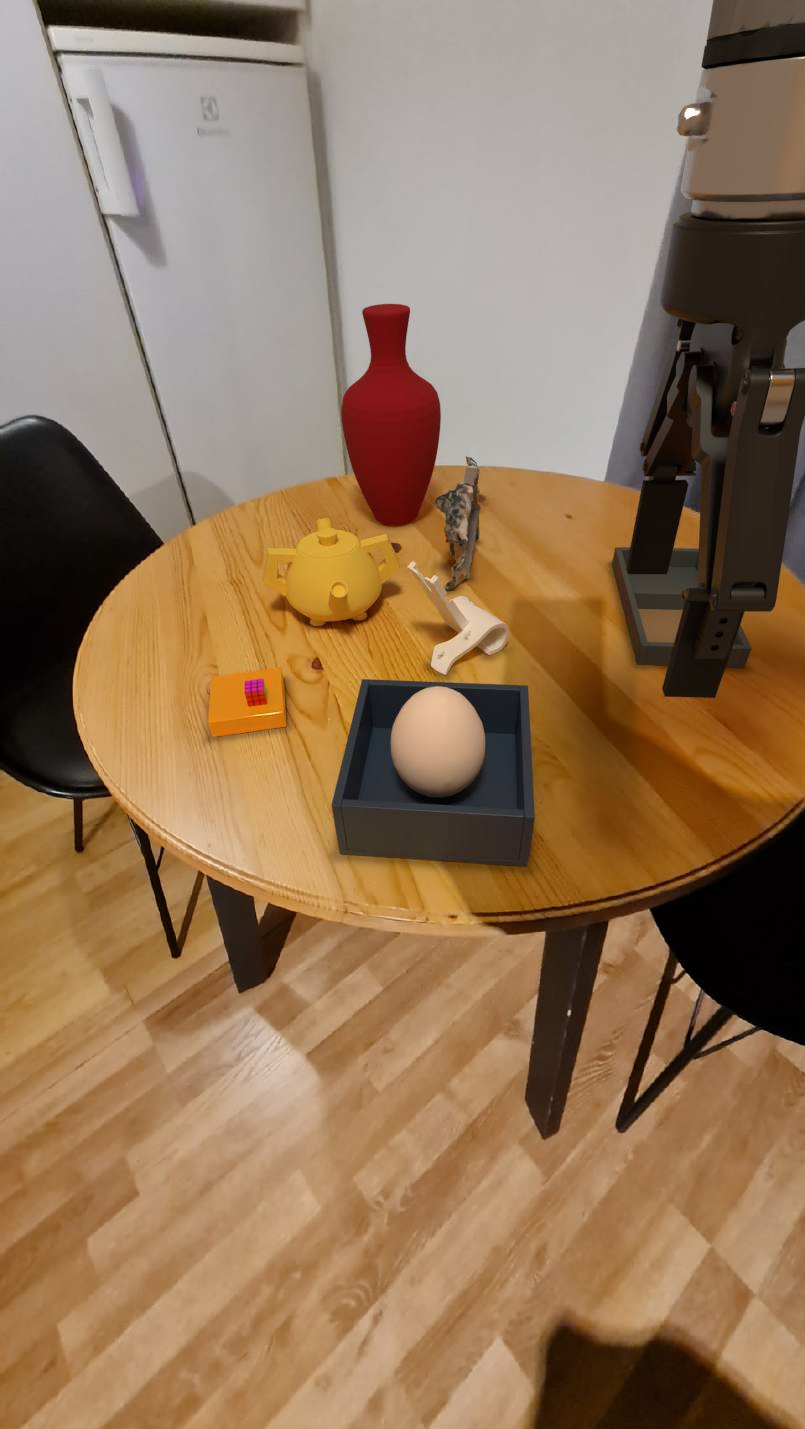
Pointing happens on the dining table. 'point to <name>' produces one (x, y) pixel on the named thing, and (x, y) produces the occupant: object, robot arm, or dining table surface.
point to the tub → (432, 828)
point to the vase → (391, 422)
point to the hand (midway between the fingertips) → (664, 625)
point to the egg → (438, 742)
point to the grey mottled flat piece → (461, 522)
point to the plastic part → (461, 624)
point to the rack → (662, 607)
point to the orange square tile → (247, 702)
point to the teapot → (331, 573)
